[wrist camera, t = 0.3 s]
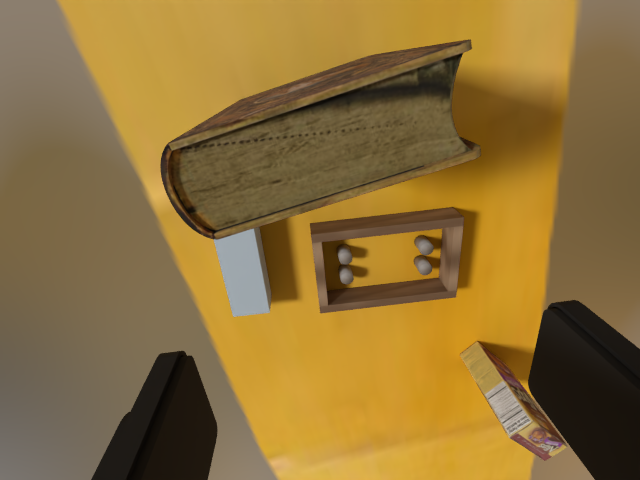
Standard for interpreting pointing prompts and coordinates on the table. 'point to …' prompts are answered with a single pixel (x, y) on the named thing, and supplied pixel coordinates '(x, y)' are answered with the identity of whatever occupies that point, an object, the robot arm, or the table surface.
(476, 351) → the candy box
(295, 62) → the table surface
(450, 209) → the frame
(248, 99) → the book
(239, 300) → the grey rectangular block
